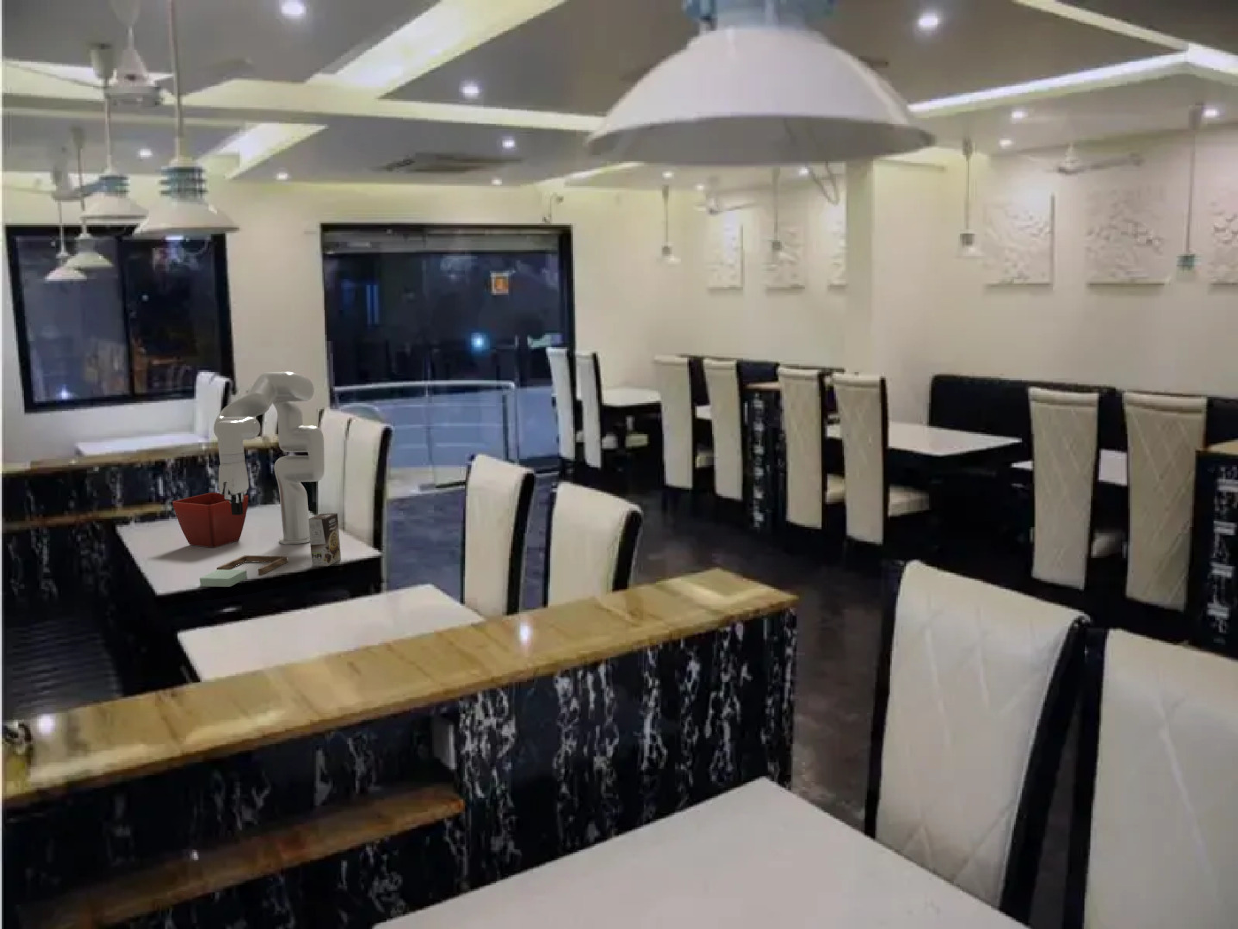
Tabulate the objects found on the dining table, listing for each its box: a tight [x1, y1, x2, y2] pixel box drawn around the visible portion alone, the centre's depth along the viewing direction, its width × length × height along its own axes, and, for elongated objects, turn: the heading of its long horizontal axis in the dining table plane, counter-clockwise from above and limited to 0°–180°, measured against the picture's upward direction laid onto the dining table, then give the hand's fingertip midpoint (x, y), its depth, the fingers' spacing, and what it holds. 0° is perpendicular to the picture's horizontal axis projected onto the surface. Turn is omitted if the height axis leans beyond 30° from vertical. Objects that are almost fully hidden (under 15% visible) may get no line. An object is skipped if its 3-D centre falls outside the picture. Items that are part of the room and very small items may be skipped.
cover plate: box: [199, 569, 248, 588], centre depth 317 cm, size 10×10×3 cm
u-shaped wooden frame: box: [216, 554, 288, 576], centre depth 333 cm, size 16×16×2 cm
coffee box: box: [309, 512, 342, 567], centre depth 336 cm, size 9×6×16 cm
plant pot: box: [172, 492, 249, 548], centre depth 369 cm, size 19×19×17 cm
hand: (237, 514), depth 326 cm, fingers closed
